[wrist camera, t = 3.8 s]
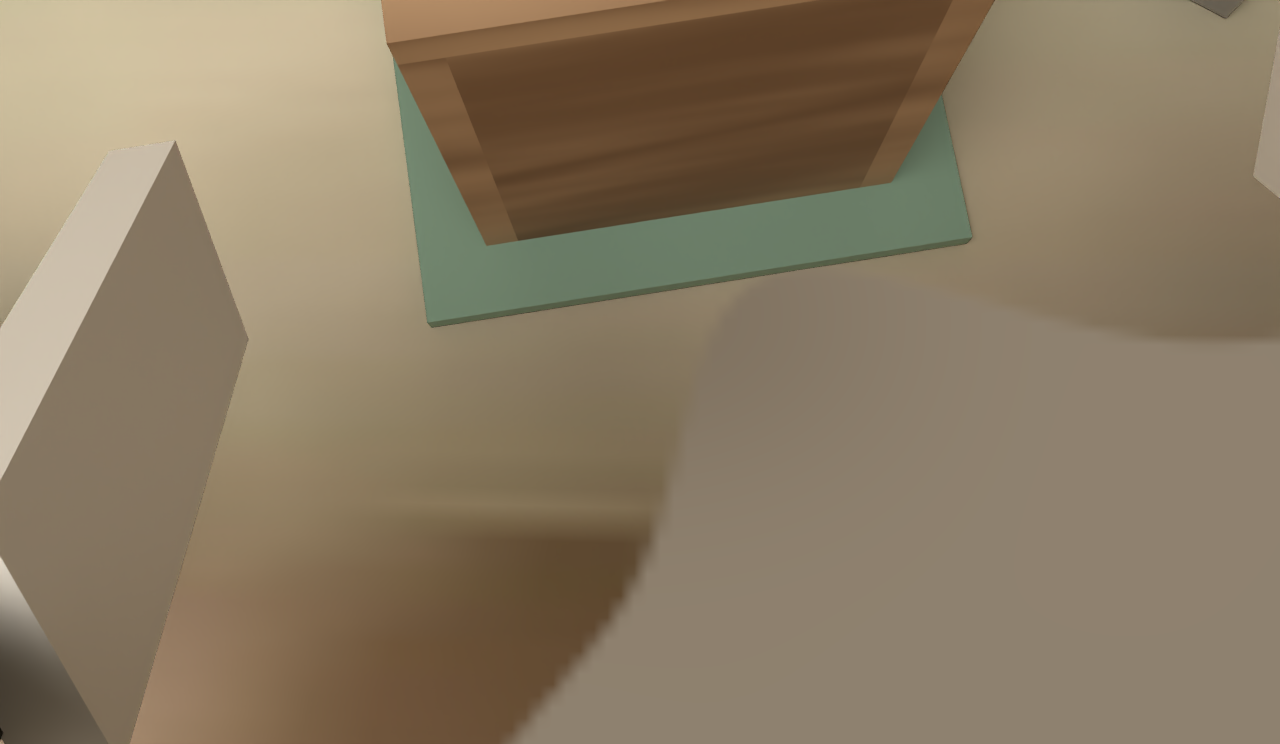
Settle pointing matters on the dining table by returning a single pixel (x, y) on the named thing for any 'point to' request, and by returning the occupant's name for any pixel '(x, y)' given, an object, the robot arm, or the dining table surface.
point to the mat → (670, 235)
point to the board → (1220, 6)
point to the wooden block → (669, 100)
